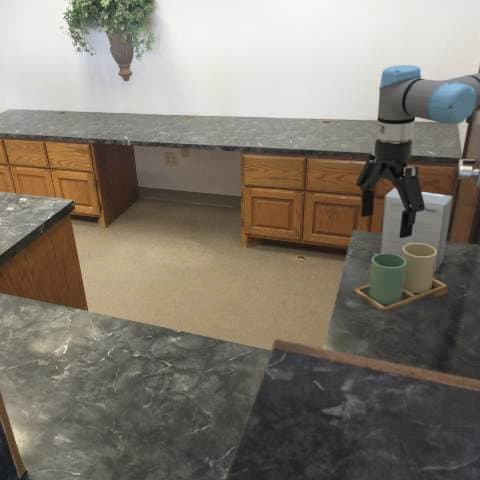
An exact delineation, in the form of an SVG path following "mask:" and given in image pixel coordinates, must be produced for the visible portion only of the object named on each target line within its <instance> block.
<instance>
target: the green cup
mask: <svg viewBox="0 0 480 480" xmlns="http://www.w3.org/2000/svg"><path fill="white" fill-rule="evenodd" d="M405 267H406V260H405V259H404V258H403V257H401V256H399V255H396V254H393V253H380V252H379V253H377V254H374V255H373V256H372V257H371V266H370V278H369V284H370V287H369V289H368V297H370V298H372V299H373V300H375V301H376V302H378V303H379V304H381V305H385V306H389V305H391V304H394V303H397V302H400V301H402V300H403V299H402V296H403V293H402V291H403V283H404V275H405Z"/></svg>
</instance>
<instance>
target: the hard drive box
mask: <svg viewBox="0 0 480 480" xmlns="http://www.w3.org/2000/svg"><path fill="white" fill-rule="evenodd" d="M421 192H422V196H423V201H424V205H425V210H424V211H420V212H416V219H415V224H414V225H413V228H412V236H409V237H405V238H400V237H399V236H400V227H401V219H402V211H404V210H405V208H404V205H403V203H402V201H401V198H400V196H399V193H398V191H397V188H396V187H394V188H392V190H390V191H389V192H388V193H386V195H384V200H383V210H382V211H383V213H382V224H381V234H380V235H381V236H380V248H379V253H393V254H396V255H399V256H401V257H402V250H403V247H404V246H405V245H407V244H410V243H422V244H427V245H430V246H432V247H434V248H435V249H436V250H437V255H436V261H435V268H434V273H436V272H437V271H438V270H439V268H440V267H441V265H442V264H443V262H444V259H445V258H444V257H445V251H446V246H447V245H446V244H447V239H448V230H449V224H450V218H451V217H450V216H451V209H452V203H453V198H454V197H453V195H448V194H440V193H432V192H427V191H421ZM410 207H411V205H410Z"/></svg>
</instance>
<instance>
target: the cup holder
mask: <svg viewBox="0 0 480 480" xmlns="http://www.w3.org/2000/svg"><path fill="white" fill-rule="evenodd" d="M448 286H449V285H447V284H445V283H443V282H442V281H440V280H438V279H435V278H434V277H433V280H432V287H431V290H429V291H427V292H424V293H419V294H416V295H415V293H411V292H409V291H407V290H405V289H403V291H402V295H404V296H406V297H407V298H405V299H401V301H400V302H397V303H394V304H391V305H385V306H384V305H383V304H380V303H378V302H376V301H375V300H373V299H372V298H370V297H369V295H367V294H365V293H364V292H365V291H367V290H368V291H369V287H370V283H368V284H365V285H362V286H360V287H357V288H354V289H353V294H355V295H356V296H358V297H359V298H361V299H363V300H364V301H365V302H367V303H369V304H370V305H372V306H373V307H375V308H376V309H377V310H379V311H381V312H382V313H384V314H385V313H387V312H390V311H392V310H395V309H398V308H400V307H403V306H406V305H409V304H412V303H414V302H416V301H420V300H423V299H425V298H427V297H430V296H432V295H433V296H436V297H437V298H439V297H443V296H446V295H447V294H448V288H449V287H448Z"/></svg>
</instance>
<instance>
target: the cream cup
mask: <svg viewBox="0 0 480 480" xmlns="http://www.w3.org/2000/svg"><path fill="white" fill-rule="evenodd" d="M436 255H437V250H436V249H435V248H434V247H432V246H430V245H427V244H422V243H410V244H407V245H405V246H404V247H403V250H402V257H403V258H404V259H405V260H406V267H405V275H404V283H403V289H405V290H407V291H409V292H410V293H412V294H417V295H419V294H421V293H424V292H427V291H429V290H432V288H431V287H432V280H433V278H434V274H435V272H434V268H435V261H436Z"/></svg>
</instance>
